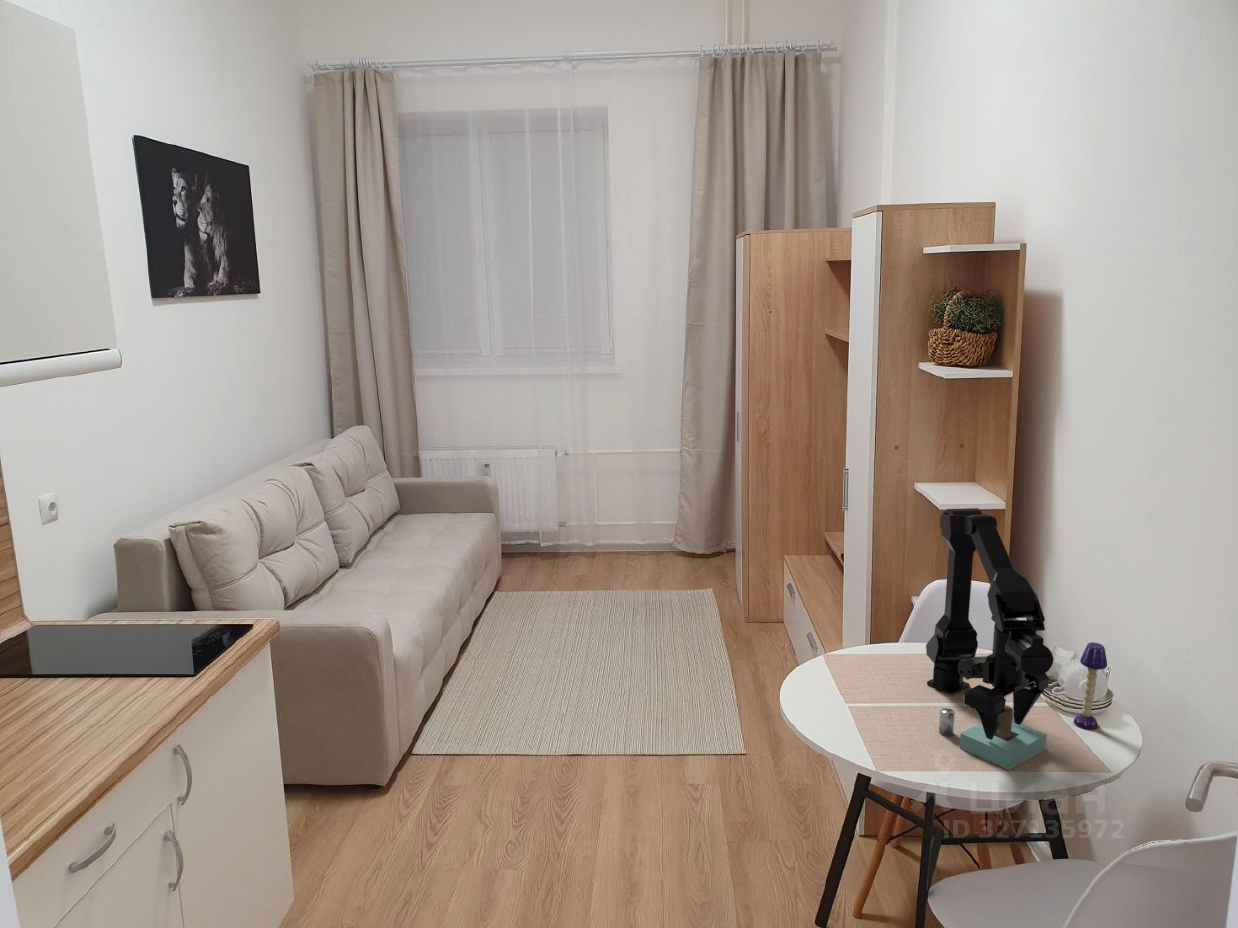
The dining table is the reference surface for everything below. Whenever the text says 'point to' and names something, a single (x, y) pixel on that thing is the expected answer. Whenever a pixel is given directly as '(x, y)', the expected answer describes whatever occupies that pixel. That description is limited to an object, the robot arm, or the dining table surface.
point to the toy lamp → (1090, 682)
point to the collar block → (1004, 745)
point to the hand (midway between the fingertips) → (1003, 730)
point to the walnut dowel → (1005, 725)
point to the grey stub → (946, 722)
